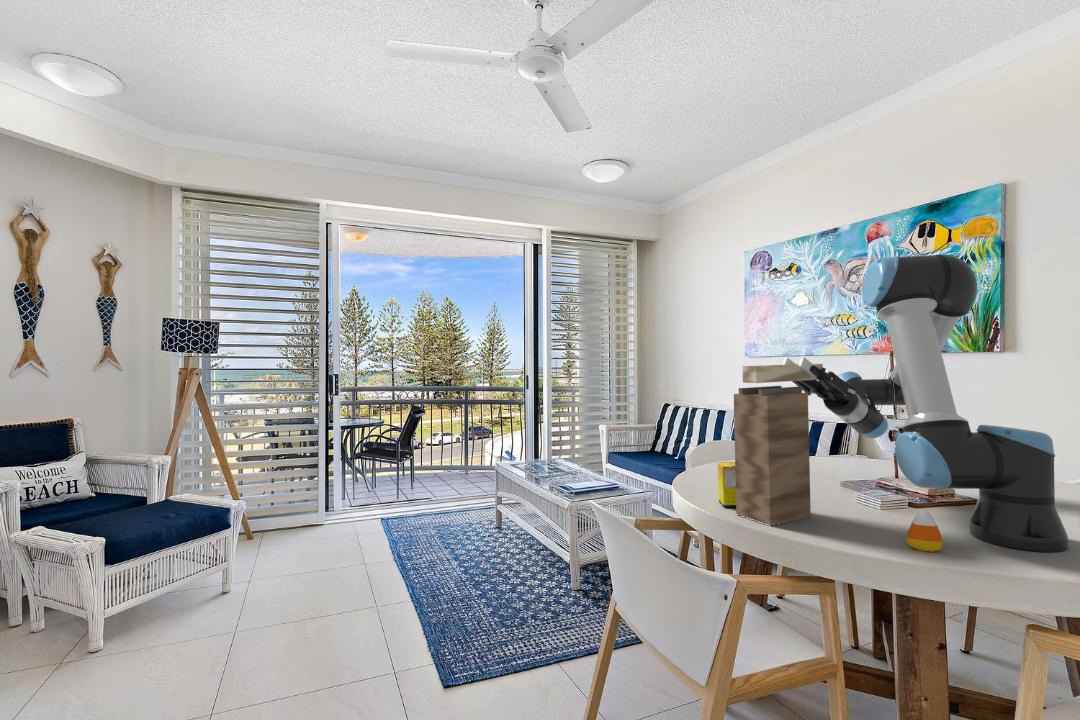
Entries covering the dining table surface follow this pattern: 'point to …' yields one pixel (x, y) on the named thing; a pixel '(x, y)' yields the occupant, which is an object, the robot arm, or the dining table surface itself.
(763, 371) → the maple bar
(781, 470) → the walnut stand
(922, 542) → the candy corn
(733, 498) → the supplement box
